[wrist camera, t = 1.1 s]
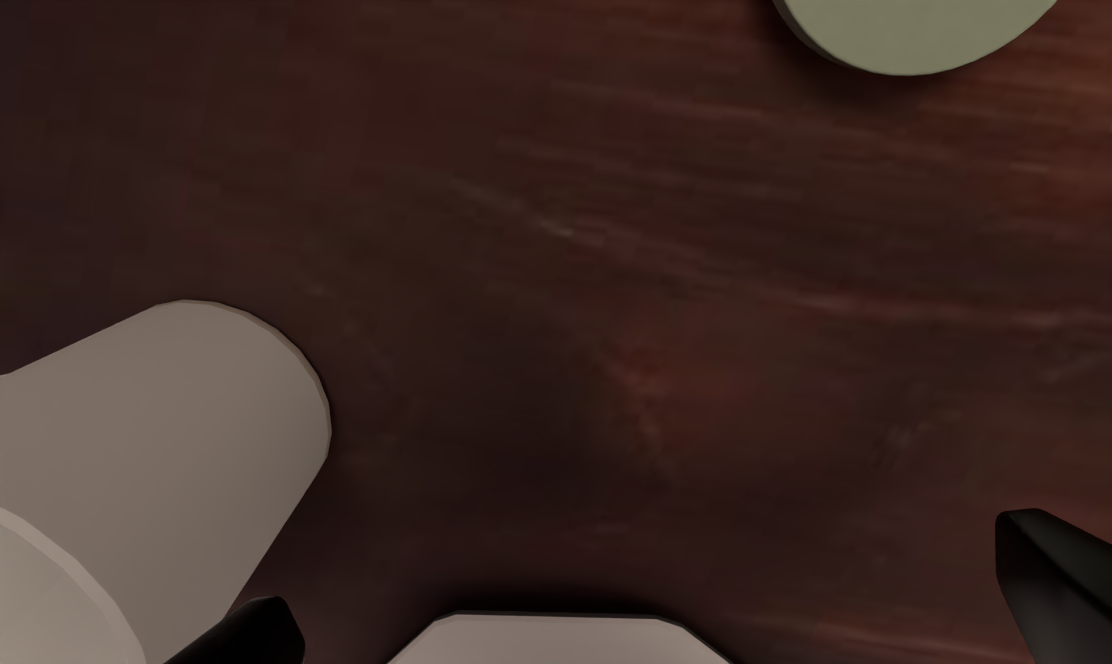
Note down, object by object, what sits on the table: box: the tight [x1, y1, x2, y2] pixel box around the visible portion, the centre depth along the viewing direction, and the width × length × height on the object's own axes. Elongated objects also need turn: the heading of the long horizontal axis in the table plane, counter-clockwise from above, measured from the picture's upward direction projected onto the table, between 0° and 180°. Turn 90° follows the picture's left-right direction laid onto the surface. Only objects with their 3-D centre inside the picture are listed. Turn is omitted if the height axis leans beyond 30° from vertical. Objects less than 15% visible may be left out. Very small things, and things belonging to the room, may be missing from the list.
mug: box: [0, 300, 332, 664], centre depth 19 cm, size 11×9×10 cm
